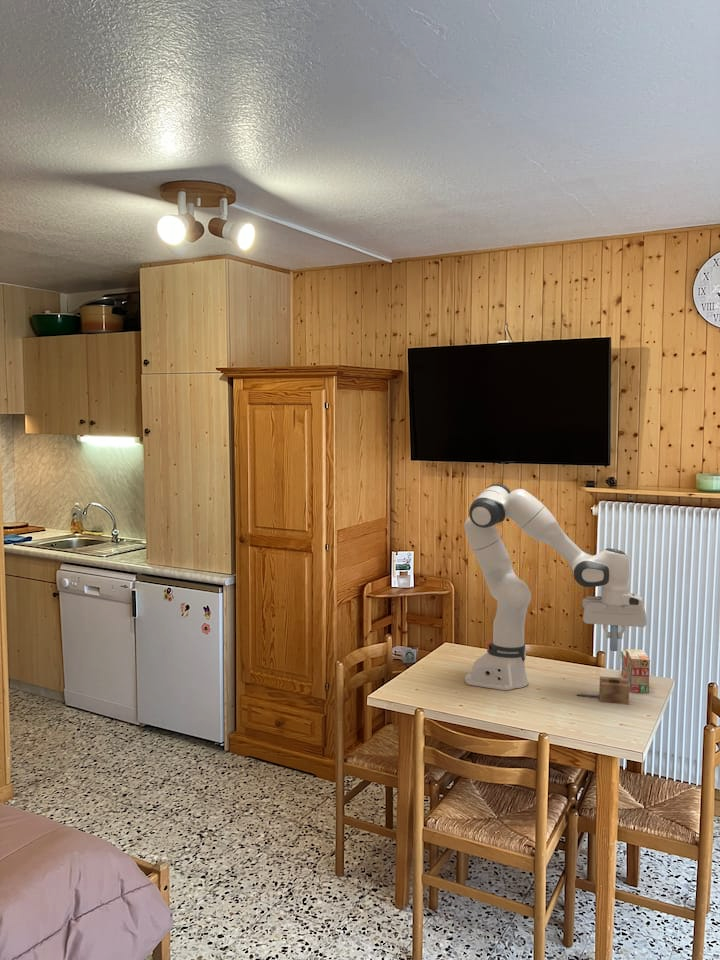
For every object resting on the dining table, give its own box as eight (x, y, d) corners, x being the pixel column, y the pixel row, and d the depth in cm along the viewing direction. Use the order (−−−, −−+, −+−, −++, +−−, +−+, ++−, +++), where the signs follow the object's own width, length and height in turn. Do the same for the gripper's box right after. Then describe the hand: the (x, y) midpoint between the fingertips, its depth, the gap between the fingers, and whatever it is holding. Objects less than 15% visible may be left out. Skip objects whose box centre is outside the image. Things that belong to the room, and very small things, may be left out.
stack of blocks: (620, 674, 292) (621, 642, 291) (638, 675, 291) (639, 642, 290) (630, 693, 271) (631, 658, 270) (649, 694, 270) (650, 659, 269)
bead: (600, 701, 261) (600, 684, 261) (599, 693, 270) (599, 676, 270) (628, 704, 259) (629, 686, 259) (626, 695, 268) (627, 678, 267)
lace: (577, 695, 267) (577, 694, 267) (577, 695, 268) (577, 693, 268) (598, 697, 265) (598, 696, 265) (598, 697, 266) (598, 695, 266)
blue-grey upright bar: (610, 650, 262) (610, 618, 261) (609, 648, 264) (610, 616, 263) (617, 651, 261) (618, 619, 260) (617, 649, 263) (618, 617, 262)
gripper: (582, 597, 261) (581, 638, 262) (647, 600, 255) (646, 642, 256) (582, 593, 267) (581, 633, 268) (646, 597, 261) (645, 637, 262)
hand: (614, 638), depth 262 cm, fingers closed on blue-grey upright bar, 2 cm apart
